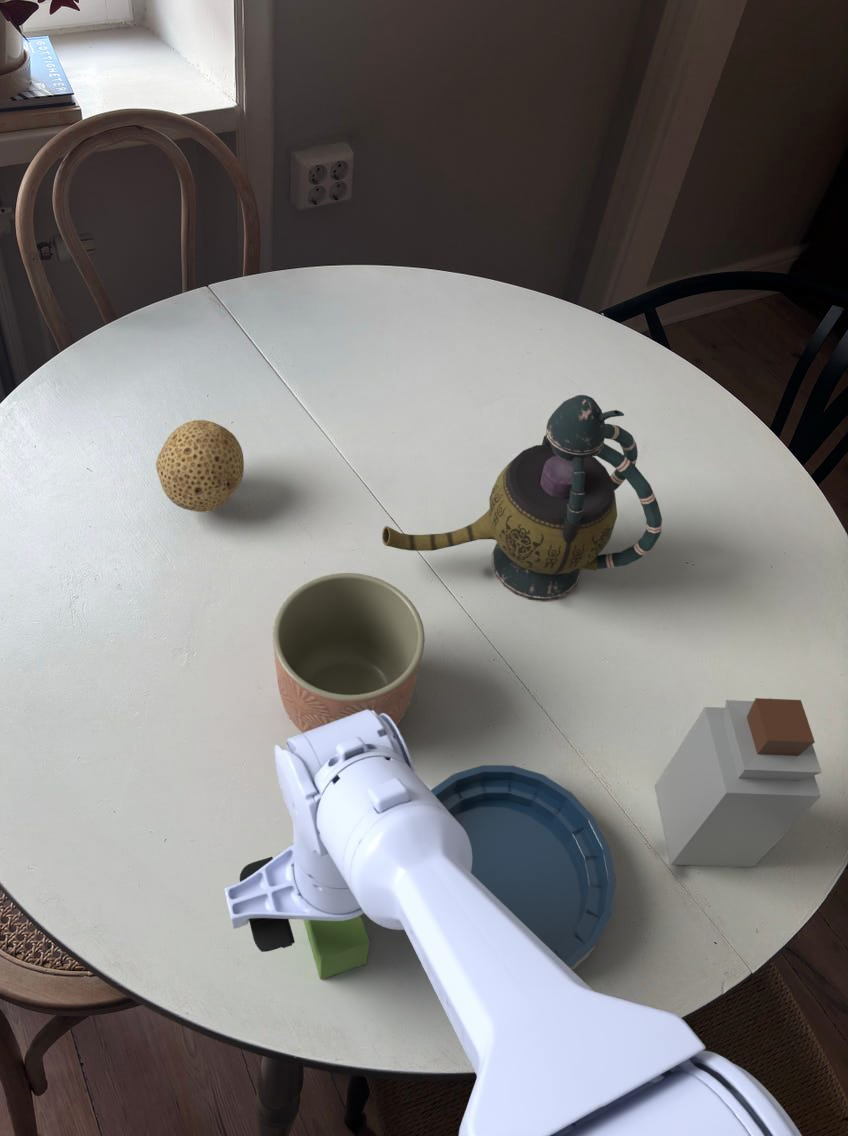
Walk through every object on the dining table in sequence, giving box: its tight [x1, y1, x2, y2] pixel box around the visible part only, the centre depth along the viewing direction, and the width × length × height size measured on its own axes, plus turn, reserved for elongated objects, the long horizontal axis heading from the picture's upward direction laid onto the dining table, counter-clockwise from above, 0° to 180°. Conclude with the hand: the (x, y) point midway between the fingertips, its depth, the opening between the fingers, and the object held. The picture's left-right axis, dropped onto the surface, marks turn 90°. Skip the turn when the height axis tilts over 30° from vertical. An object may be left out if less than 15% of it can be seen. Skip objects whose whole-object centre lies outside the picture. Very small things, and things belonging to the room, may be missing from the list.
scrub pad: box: [303, 914, 370, 980], centre depth 69 cm, size 5×4×5 cm
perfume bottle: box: [654, 697, 823, 868], centre depth 71 cm, size 7×7×18 cm
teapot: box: [381, 394, 663, 602], centre depth 87 cm, size 12×25×23 cm, turn 94°
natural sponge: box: [155, 419, 245, 513], centre depth 96 cm, size 9×9×10 cm
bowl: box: [429, 764, 617, 971], centre depth 73 cm, size 16×16×4 cm
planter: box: [272, 572, 426, 734], centre depth 80 cm, size 12×12×11 cm
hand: (334, 915), depth 67 cm, fingers open, 7 cm apart
